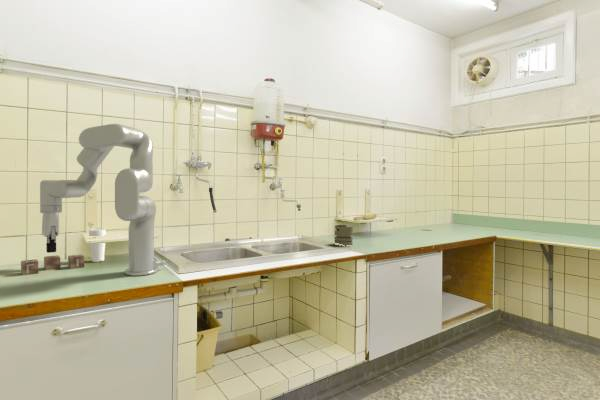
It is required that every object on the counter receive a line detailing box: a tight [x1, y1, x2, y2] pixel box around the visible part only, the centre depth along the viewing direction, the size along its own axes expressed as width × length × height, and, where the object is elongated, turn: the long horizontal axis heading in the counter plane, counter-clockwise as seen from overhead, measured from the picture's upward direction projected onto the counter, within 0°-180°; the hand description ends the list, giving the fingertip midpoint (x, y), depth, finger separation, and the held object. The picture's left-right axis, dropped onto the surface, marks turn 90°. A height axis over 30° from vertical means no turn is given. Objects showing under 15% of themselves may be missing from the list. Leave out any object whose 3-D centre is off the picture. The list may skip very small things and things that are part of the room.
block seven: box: [20, 259, 39, 276], centre depth 139 cm, size 5×5×5 cm
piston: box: [333, 224, 354, 246], centre depth 216 cm, size 11×12×11 cm
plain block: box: [43, 255, 61, 271], centre depth 147 cm, size 5×5×5 cm
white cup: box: [88, 228, 107, 263], centre depth 162 cm, size 7×7×15 cm
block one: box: [67, 254, 85, 270], centre depth 150 cm, size 5×5×5 cm
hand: (51, 251), depth 147 cm, fingers closed
